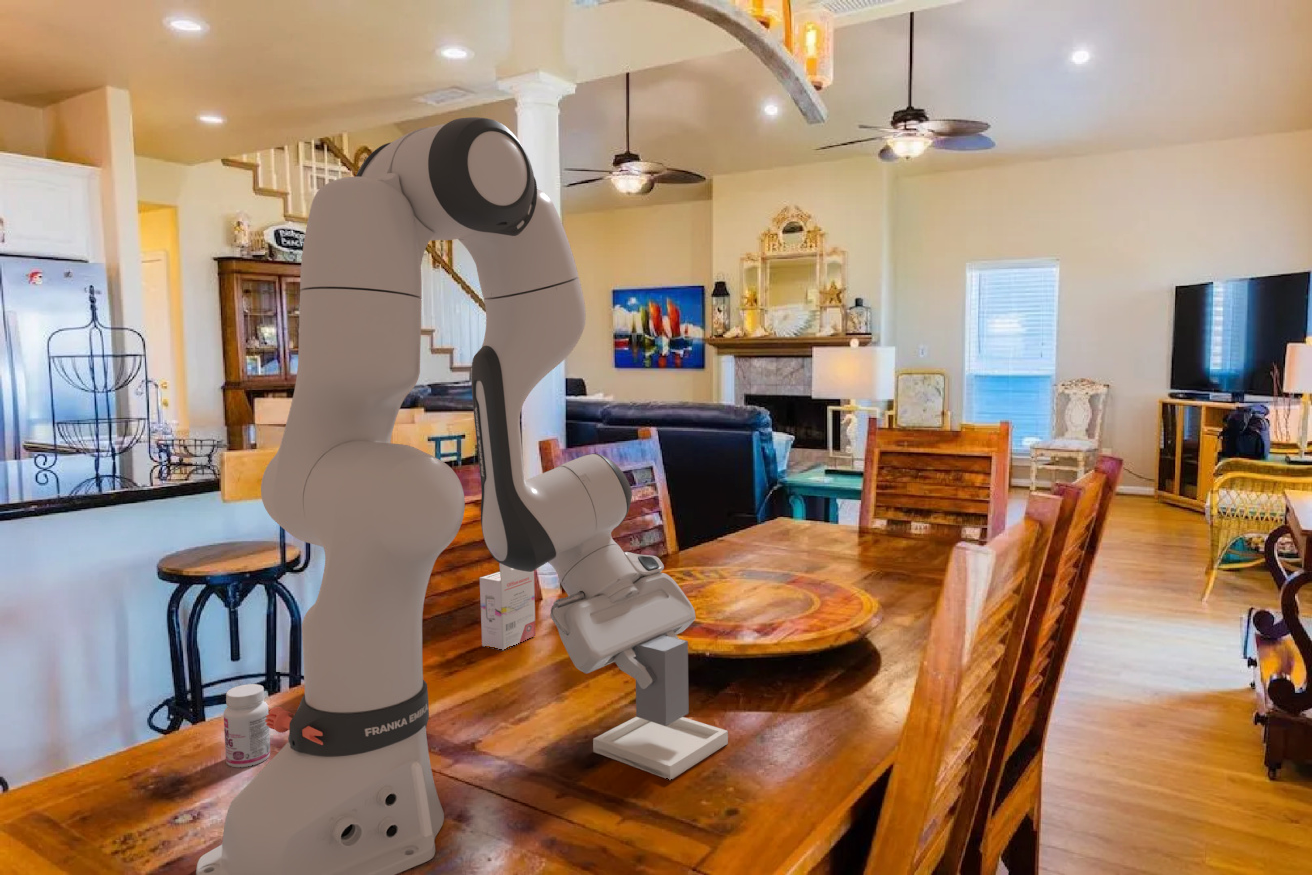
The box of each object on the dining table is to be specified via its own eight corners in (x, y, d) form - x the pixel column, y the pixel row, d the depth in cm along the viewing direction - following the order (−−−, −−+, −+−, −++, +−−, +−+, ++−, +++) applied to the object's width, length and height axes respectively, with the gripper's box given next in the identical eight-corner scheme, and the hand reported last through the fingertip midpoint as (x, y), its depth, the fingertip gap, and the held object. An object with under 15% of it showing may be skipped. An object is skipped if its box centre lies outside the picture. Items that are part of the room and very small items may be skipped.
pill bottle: (216, 764, 99) (212, 693, 98) (250, 747, 103) (247, 680, 103) (245, 771, 97) (242, 700, 96) (279, 754, 101) (276, 685, 101)
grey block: (665, 726, 99) (664, 651, 98) (636, 716, 102) (635, 643, 101) (688, 713, 103) (687, 641, 102) (659, 704, 105) (658, 634, 105)
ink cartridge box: (514, 632, 148) (512, 549, 146) (536, 637, 145) (534, 552, 144) (479, 646, 140) (477, 559, 139) (502, 651, 138) (500, 562, 136)
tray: (670, 780, 94) (670, 766, 94) (593, 751, 101) (593, 738, 101) (727, 743, 103) (727, 730, 103) (653, 719, 110) (653, 707, 110)
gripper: (557, 588, 97) (623, 690, 92) (666, 554, 113) (728, 639, 108) (531, 619, 100) (594, 719, 95) (640, 582, 116) (699, 666, 111)
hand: (666, 677), depth 101 cm, fingers closed on grey block, 4 cm apart
